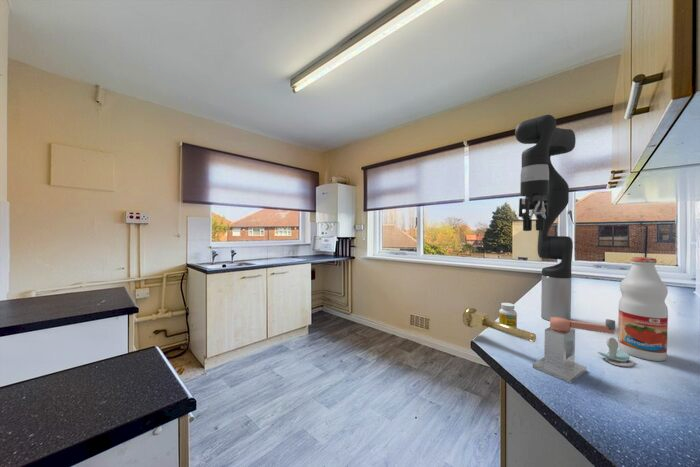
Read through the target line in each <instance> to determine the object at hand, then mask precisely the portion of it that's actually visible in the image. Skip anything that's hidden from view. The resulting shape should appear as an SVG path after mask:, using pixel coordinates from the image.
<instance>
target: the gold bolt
mask: <svg viewBox="0 0 700 467" xmlns="http://www.w3.org/2000/svg"><path fill="white" fill-rule="evenodd" d="M489 316H490V315H489V314H488V313H484V312H481V311H478V310H477V309H475V308H474V307H467V308H465V309H464V311H463V313H462V323H463V325H464V326H465V327H469V328H476V329H477V330H482V331H484V330H486V329H489V328H490V329H493V330H496V331H499V332H501V333H504V334H508V335H511V336H513V337H516V338H520V339H521V340H524V341H529V342H532V343H535V342H536V339H537V335H536V333H535V332H530V331H527V330H525V329H521V328H515V327H512V326H508V325H505V324H502V323H499V321H496V320H491V319H489Z"/></svg>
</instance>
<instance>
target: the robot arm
mask: <svg viewBox="0 0 700 467" xmlns="http://www.w3.org/2000/svg"><path fill="white" fill-rule="evenodd" d="M514 136H515V138H516V140H517V141H518V143H519V144H524V145H533V146H531V147H529V148H528V147H527V148H526V149H525V150H522V152H521V170H520V184H519V185H520V190H519V191H520V198H519V199H518V201H519V202H518V217H519V218H521V220H522V230H523V232H530V231H532V230H533V225H532V224H533V216H535V218H536V219H535V231H538V236H537V237H538V238H537V255H538V257H539V259H543V260H544V259H545V260H546V259H548V260H560V262H558V263H557V264H554V265H551V266H545V267H543V268H542V269H541V294H540V295H541V296H540V298H541V305H540V306H541V309H540V314H541V315H540V316H541V318H542V319H544V320H546V321H549V322H550V318H551V317H559V318H564V319H567V320H570V321H572V320H571V319H572V318H571V317H572V262H573V259H572V258H573V250H574V243H573V239H572V237H571V236H564V235H549V231H550V230H551V227H552V226H553V224H554V223H555V221H556V220H557V218H558V217H559V216H560V215H561V214H562V212H563V211H564V210H566V207H567V206H568V204H569V199H570V198H569V196H570V193H569V192H570V190H569V189H570V187H569V184H568V183H567V181H566V180H565V178H564V177H563V176H562V175H561V173H559V172H558V171H557V170H556V169H555V166H553V163H552V160H551V157H552V156H558V155H562V154H563V155H564V154H567V153H570V152H572V151H573V150H574V149H575V147H576V139H577V138H576V134H575V132H574V131H573V129H571V128H560V127H557V120H556V118H555V116H554V115H552V114H545V115H541V116H537V117H534V118H529V119H526V120H523V121H521V122H520V123H518V124H517V126H516V127H515V131H514Z"/></svg>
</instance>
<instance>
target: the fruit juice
mask: <svg viewBox="0 0 700 467" xmlns="http://www.w3.org/2000/svg"><path fill="white" fill-rule="evenodd" d="M630 263H631V266H630V268H629V270H628V272H627V274H626V276H625V277H624V278H623V279H622V280H621V281H620V284H619V290H620V293H621V297H620V298H619V301H618V317H617V319H618V321H617V322H618V324H617V328H618V329H617V342H618V350H623V351H625V352H626V353H628V354H629V356H632V357H636V358H637V359H638V358H639V359H643V360H647V361H655V362H663V361H665V360H666V359H667V357H668V326H669V325H668V320H669V311H668V310H669V309H668V306H667V304H666V299H667V296H668V294H669V292H668V287H667V285H666V284H665V283H664V281H662V279H661V277H660V275H659V273H658V270H657V269H656V265H657V258H654V257H646V256H644V257H643V256H631V258H630Z"/></svg>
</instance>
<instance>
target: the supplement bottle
mask: <svg viewBox="0 0 700 467" xmlns="http://www.w3.org/2000/svg"><path fill="white" fill-rule="evenodd" d="M500 304H501V305H500V306H501V308H500V309H499V310H498V317H499V318H498V322H499V323H502V324H505V325H508V326H512V327H515V328H517V323H518V322H517V319H518V318H517V317H518V313H517V311H516V310H515V304H513V303H511V302H510V303H509V302H501V303H500Z"/></svg>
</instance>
